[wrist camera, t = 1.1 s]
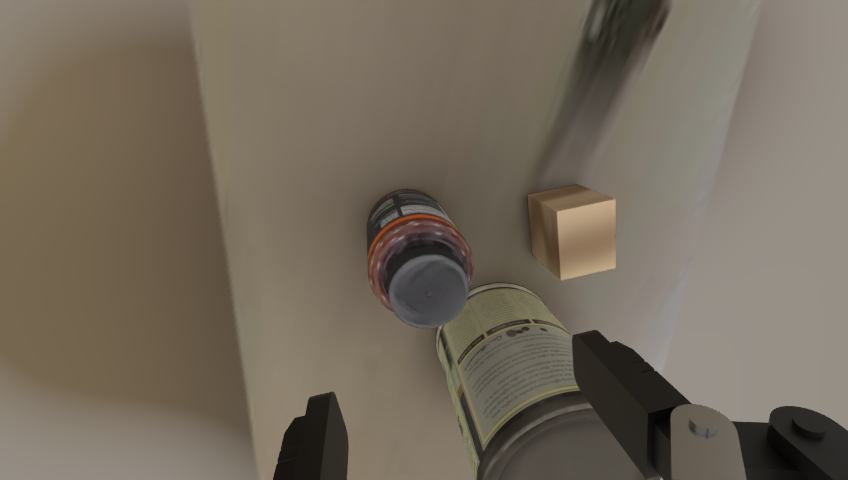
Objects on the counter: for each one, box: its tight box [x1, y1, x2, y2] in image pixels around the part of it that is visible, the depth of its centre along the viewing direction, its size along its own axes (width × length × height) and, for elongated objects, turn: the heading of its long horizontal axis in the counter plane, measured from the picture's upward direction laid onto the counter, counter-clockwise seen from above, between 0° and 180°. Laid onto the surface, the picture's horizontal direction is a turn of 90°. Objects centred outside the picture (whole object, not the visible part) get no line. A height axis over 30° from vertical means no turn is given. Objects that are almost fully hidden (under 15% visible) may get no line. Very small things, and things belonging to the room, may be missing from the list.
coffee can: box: [436, 283, 661, 480], centre depth 27 cm, size 10×10×14 cm
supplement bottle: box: [367, 190, 474, 328], centre depth 24 cm, size 6×6×11 cm
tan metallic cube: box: [527, 184, 616, 280], centre depth 28 cm, size 5×4×5 cm
